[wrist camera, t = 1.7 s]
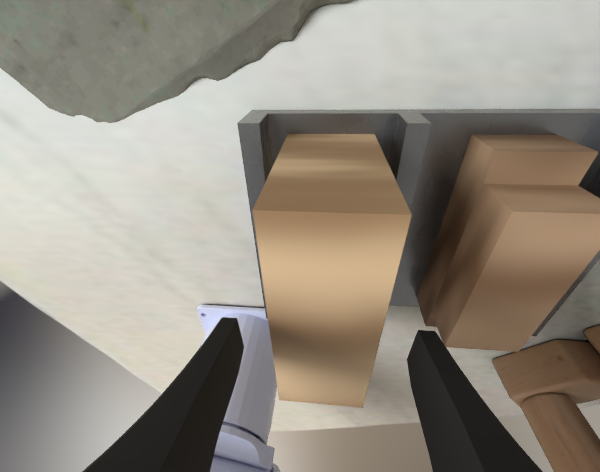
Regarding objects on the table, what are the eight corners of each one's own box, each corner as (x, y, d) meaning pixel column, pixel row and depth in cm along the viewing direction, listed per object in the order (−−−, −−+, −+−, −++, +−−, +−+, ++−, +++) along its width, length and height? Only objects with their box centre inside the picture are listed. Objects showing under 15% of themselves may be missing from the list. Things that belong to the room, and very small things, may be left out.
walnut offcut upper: (496, 315, 17) (518, 352, 15) (431, 311, 18) (444, 346, 16) (577, 185, 12) (627, 214, 10) (483, 183, 12) (512, 211, 10)
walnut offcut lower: (472, 300, 20) (487, 329, 18) (416, 297, 21) (425, 326, 19) (558, 135, 13) (599, 152, 11) (471, 134, 14) (496, 151, 12)
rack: (514, 304, 21) (535, 336, 19) (272, 291, 23) (266, 318, 21) (642, 108, 13) (708, 123, 11) (252, 110, 15) (237, 123, 12)
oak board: (353, 294, 21) (362, 407, 15) (295, 291, 21) (279, 400, 15) (374, 134, 14) (411, 214, 8) (287, 133, 14) (252, 210, 8)
